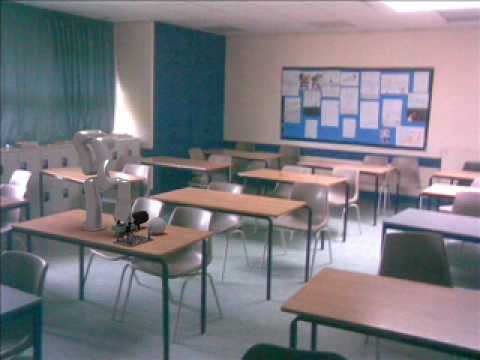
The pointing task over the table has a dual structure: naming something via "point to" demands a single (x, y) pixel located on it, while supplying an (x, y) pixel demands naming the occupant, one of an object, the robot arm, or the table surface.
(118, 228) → the board
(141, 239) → the chassis
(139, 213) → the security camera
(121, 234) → the stand
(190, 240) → the table surface
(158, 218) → the eye model
